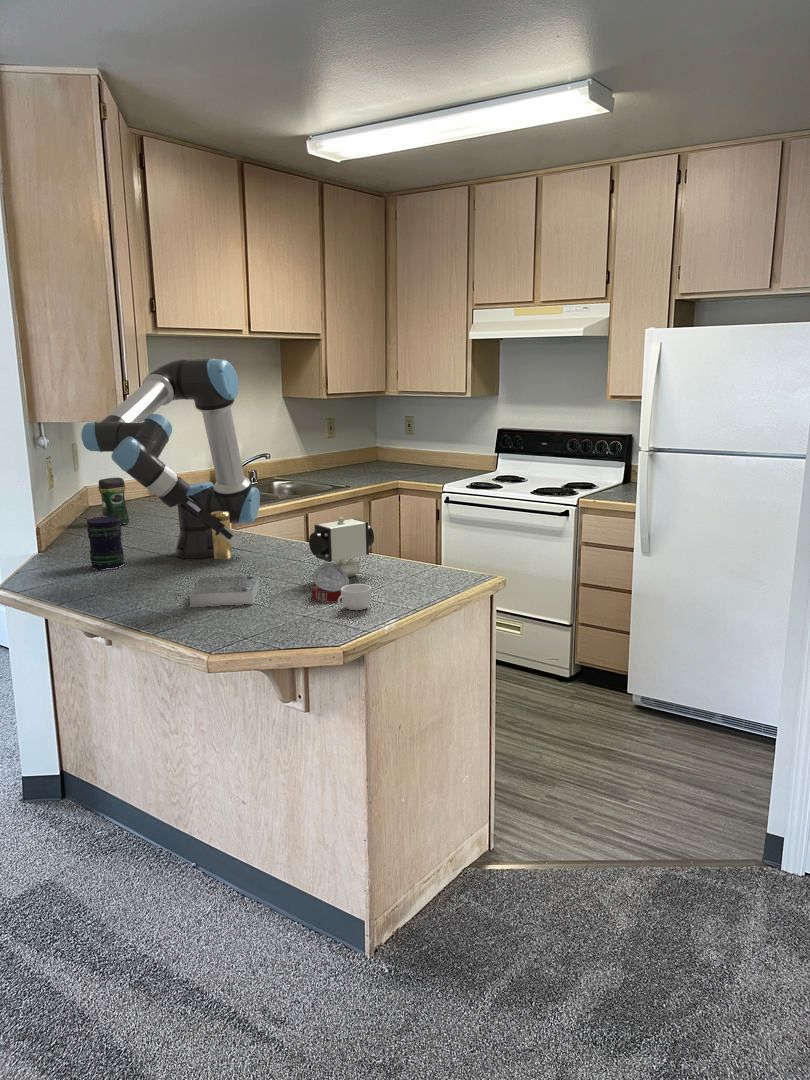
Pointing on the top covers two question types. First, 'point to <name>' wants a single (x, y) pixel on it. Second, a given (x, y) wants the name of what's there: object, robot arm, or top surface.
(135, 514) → the top surface
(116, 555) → the storage jar
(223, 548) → the gold metal cylinder
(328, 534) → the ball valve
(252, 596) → the jig
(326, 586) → the canned food
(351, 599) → the teacup
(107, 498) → the coffee jar
